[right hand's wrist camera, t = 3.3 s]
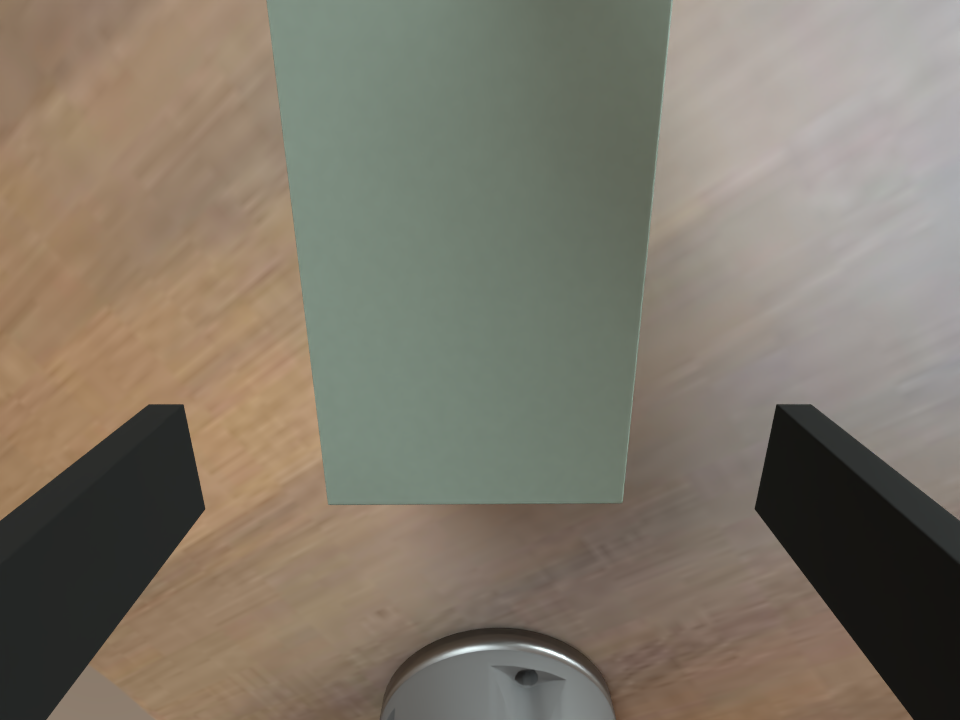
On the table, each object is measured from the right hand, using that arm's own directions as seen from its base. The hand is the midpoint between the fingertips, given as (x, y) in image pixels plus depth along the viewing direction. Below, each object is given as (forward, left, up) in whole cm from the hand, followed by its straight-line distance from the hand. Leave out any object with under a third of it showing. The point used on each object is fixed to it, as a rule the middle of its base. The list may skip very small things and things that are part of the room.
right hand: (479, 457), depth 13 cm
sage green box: (+1, +3, -16) cm, 16 cm away
